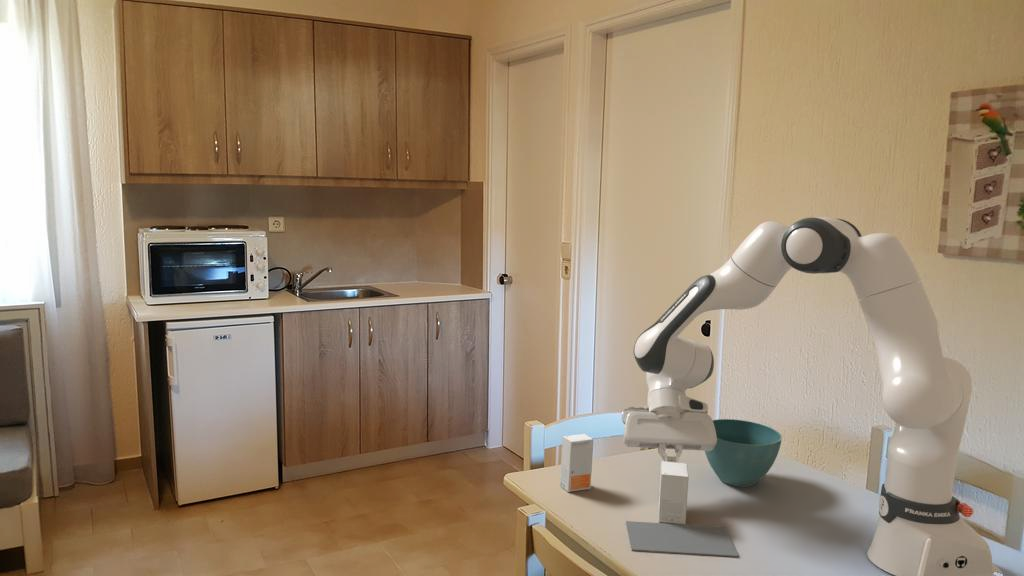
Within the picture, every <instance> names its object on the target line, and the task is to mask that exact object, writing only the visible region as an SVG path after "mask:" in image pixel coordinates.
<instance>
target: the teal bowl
mask: <svg viewBox="0 0 1024 576" xmlns="http://www.w3.org/2000/svg"><path fill="white" fill-rule="evenodd" d="M712 420H713V423H714V427H715V431H716V436H717V443H716V446H715V447H714V449H713V450H712V451H704V454H705V457H706V459H707V462H708V463H709V465H710V467H711V468H712V470H713V472H714V473H715V475H716V476H717V477H718V478H719V480H721V482H723V483H725V484H727V485H730V486H734V487H741V488H742V487H747V488H748V487H751V486H754V485H755V484H757V483H758V482H759V481H761V479H763V478H764V477H765V476H766V475H767V473H768V472H769V471H770V469H772V467H773V466H774V463H775V461H776V460H777V456H778V454H779V452H780V448H781V444H782V438H783V436H782V434H781V433H780V432H779V431H778V430H776V429H774V428H772V427H770V426H768V425H764V424H763V423H757V422H753V421H751V420H749V421H748V420H743V419H736V418H735V419H734V418H732V419H731V418H721V419H719V418H718V419H712Z"/></svg>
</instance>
